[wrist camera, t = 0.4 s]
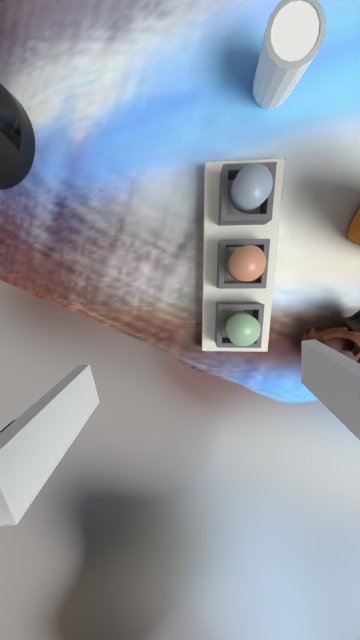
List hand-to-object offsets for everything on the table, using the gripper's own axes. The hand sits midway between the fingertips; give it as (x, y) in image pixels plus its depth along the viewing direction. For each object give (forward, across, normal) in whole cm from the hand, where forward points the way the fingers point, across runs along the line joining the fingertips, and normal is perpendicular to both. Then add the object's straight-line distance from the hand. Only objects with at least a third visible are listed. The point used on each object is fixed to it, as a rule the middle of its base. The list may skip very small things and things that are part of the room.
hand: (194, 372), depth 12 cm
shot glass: (+27, +16, +31) cm, 44 cm away
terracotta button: (+22, +9, +6) cm, 24 cm away
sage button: (+21, +8, -4) cm, 23 cm away
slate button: (+22, +10, +16) cm, 29 cm away
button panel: (+26, +9, +6) cm, 28 cm away
